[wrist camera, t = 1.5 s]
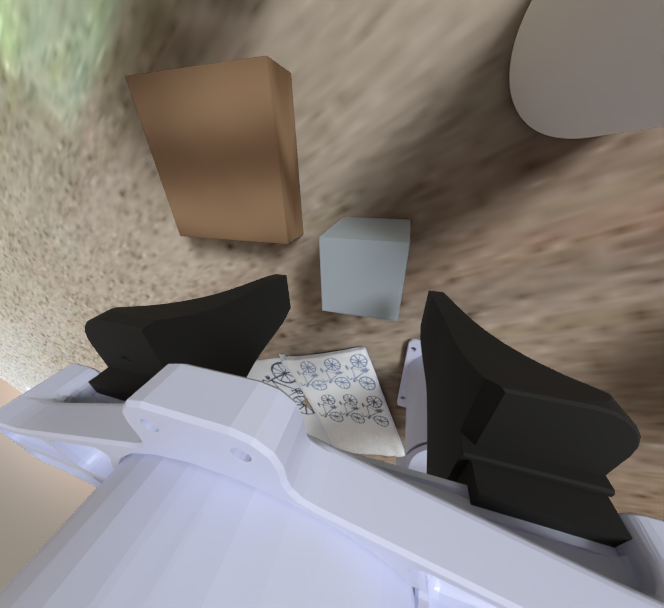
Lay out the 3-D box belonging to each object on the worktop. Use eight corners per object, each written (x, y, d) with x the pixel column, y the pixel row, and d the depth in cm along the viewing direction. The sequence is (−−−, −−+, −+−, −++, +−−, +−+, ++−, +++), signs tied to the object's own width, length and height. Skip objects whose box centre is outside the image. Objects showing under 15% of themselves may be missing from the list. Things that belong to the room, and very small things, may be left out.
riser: (303, 233, 20) (288, 244, 17) (205, 227, 22) (180, 235, 20) (290, 73, 15) (266, 55, 12) (165, 88, 17) (124, 76, 15)
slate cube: (400, 281, 20) (397, 321, 15) (343, 275, 21) (322, 310, 16) (410, 219, 17) (409, 242, 12) (343, 216, 18) (319, 237, 13)
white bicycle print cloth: (407, 448, 32) (407, 465, 30) (286, 438, 40) (280, 451, 38) (370, 338, 24) (366, 352, 23) (229, 354, 33) (219, 365, 31)
